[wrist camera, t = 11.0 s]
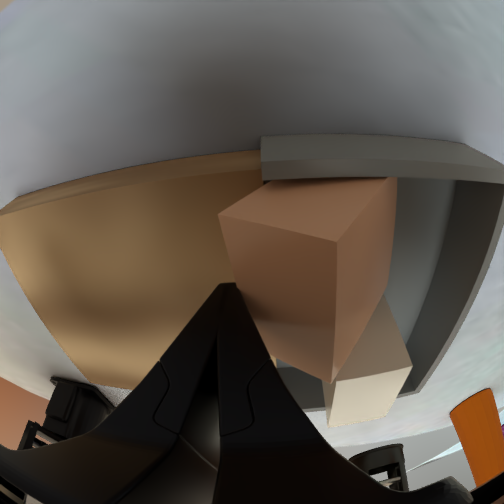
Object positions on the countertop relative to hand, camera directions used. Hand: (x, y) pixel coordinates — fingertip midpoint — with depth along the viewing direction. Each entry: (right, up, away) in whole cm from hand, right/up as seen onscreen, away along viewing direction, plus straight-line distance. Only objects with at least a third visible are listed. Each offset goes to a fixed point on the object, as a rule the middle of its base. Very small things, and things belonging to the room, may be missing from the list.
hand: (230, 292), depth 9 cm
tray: (+6, 0, +5) cm, 8 cm away
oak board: (-5, -1, +5) cm, 7 cm away
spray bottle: (+31, -18, +16) cm, 39 cm away
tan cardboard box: (+2, +1, +1) cm, 2 cm away
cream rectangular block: (+4, -4, +4) cm, 7 cm away
